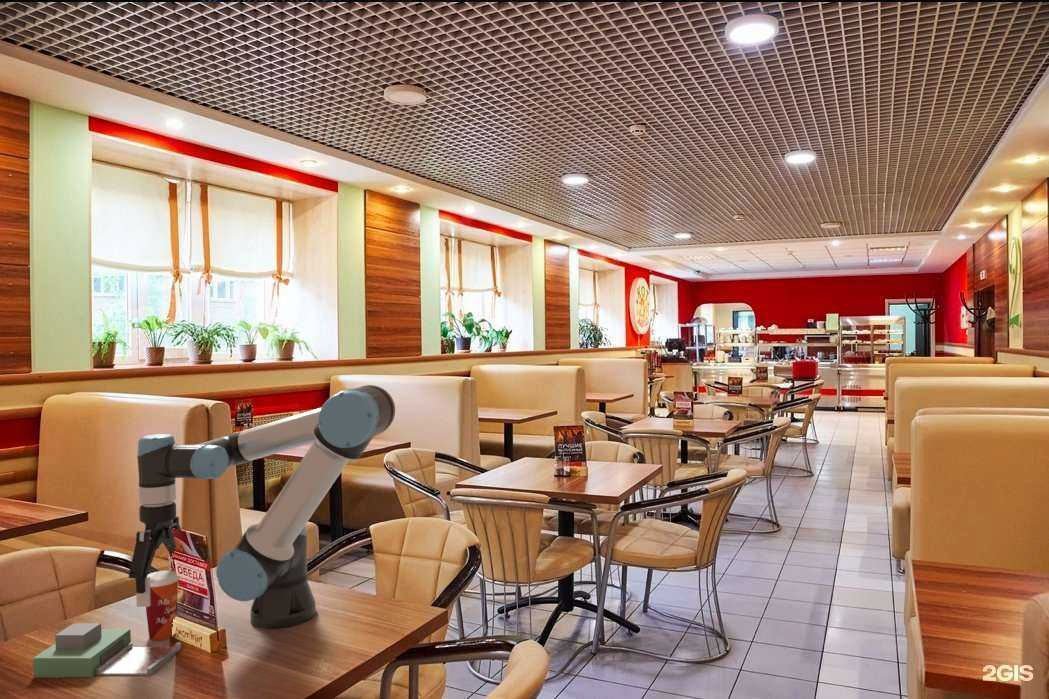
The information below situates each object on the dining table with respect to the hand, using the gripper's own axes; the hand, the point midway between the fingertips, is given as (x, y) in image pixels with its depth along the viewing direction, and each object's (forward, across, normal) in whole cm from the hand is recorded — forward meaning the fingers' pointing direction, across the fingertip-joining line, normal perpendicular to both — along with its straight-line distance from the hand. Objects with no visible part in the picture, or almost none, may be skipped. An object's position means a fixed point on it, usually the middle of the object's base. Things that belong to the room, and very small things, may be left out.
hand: (160, 594), depth 169 cm
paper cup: (+10, 0, 0) cm, 10 cm away
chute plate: (+9, +13, +2) cm, 16 cm away
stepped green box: (+10, +13, -10) cm, 19 cm away
